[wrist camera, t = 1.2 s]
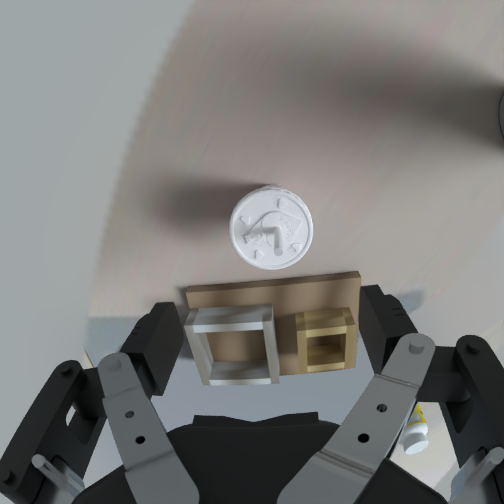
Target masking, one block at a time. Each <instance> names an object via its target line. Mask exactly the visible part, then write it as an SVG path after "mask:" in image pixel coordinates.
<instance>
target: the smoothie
mask: <svg viewBox="0 0 504 504" xmlns="http://www.w3.org/2000/svg"><path fill="white" fill-rule="evenodd" d="M229 236H230V240H231V243H232V245H233V248H234V249H235V251H236V252H237V254H238V255H239V256H240V257H241V258H242V259H243V260H244V261H246V262H247V263H249V264H251V265H253V266H255V267H258V268H261V269H267V270H276V269H282V268H285V267H288V266H290V265H292V264H294V263H295V262H297V261H298V260H299V259H301V258H302V257H303V255H304V254H305V253H306V252H307V250H308V248H309V246H310V244H311V241H312V237H313V223H312V218H311V214H310V212H309V210H308V208H307V206H306V205H305V204H304V202H303V201H302V200H301V199H300V198H299V197H298V196H296V195H295V194H293V193H292V192H290V191H288V190H285V189H284V188H282V187H281V186H279V185H274V184H270V185H266V186H264V187H262V188H260V189H256V190H254V191H252V192H250V193H248V194H246V195H245V196H244V197H243V198H242V199H241V200H240V201H239V202H238V203H237V205H236V206H235V208H234V209H233V212H232V215H231V218H230V224H229Z"/></svg>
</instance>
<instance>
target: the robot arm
mask: <svg viewBox="0 0 504 504" xmlns="http://www.w3.org/2000/svg"><path fill="white" fill-rule="evenodd" d="M499 119H500V126H501V130H502V134H503V136H504V95H503V97H502V99H501V103H500V109H499ZM358 324H359V330H360V333H361V336H362V339H363V341H364V344H365V347H366V350H367V353H368V356H369V359H370V362H371V365H372V368H373V371H374V374H375V375H374V376H373V378H372V380H371V381H370V383H369V384H368V386H367V387H366V389H365V390H364V392H363V393H362V395H361V396H360V398H359V399H358V401H357V402H356V404H355V405H354V407H353V409H352V410H351V411H350V413H349V414H348V415H347V417H346V418H345V420H344V421H343V423H342V424H341V425H338V424H335V423H332V422H328V421H321V420H319V419H318V412H309V413H297V414H286V415H282V416H278V417H274V418H270V419H266V420H262V421H257V422H250V421H245V420H240V419H234V418H230V417H226V416H202V415H194V419H193V423H192V424H188V425H184V426H181V427H178V428H176V429H173V430H171V431H169V432H168V433H167V431H166V429H165V427H164V425H163V423H162V422H161V420H160V418H159V416H158V414H157V412H156V410H155V408H154V406H153V404H152V402H151V400H150V399H151V397H152V395H156V396H162V395H163V393H164V391H165V388H166V385H167V383H168V380H169V377H170V375H171V372H172V370H173V367H174V365H175V362H176V360H177V357H178V354H179V352H180V349H181V347H182V344H183V330H182V326H181V323H180V320H179V317H178V313H177V310H176V307H175V304H174V303H173V302H159V303H156V304H155V305H154V307H153V308H152V310H151V312H150V313H149V314H146V315H144V316H143V317H142V318H141V319H140V320H138V322H137V324H136V325H135V327H134V329H133V330H132V332H131V333H130V334H131V335H129V336H128V338H127V340H126V341H125V343H124V344H123V346H122V348H121V349H120V351H119V352H117V353H112V354H109V355H107V356H106V357H104V358H103V359H102V360H101V361H100V362H99V364H98V367H96V368H90V369H83V368H82V366H81V365H80V363H79V362H78V361H76V360H69V361H65V362H63V363H61V364H60V365H58V366H57V367H56V369H55V370H54V371H53V373H52V374H51V376H50V377H49V379H48V380H47V382H46V383H45V385H44V387H43V388H42V389H41V391H40V393H39V394H38V396H37V397H36V399H35V400H34V402H33V404H32V406H31V407H30V409H29V410H28V412H27V414H26V415H25V417H24V419H23V420H22V422H21V424H20V426H19V427H18V429H17V431H16V432H15V434H14V436H13V438H12V440H11V441H10V443H9V445H8V447H7V449H6V451H5V452H4V454H3V456H2V458H1V460H0V492H1V493H2V494H3V495H4V496H6V497H7V498H8V499H10V500H11V501H12V502H13V503H14V504H504V368H503V366H502V365H501V363H500V361H499V360H498V359H497V357H496V355H495V354H494V352H493V350H492V349H491V347H490V346H489V344H488V343H487V342H486V341H485V340H484V339H483V338H481V337H479V336H475V335H465V336H463V337H461V338H460V339H458V341H457V343H456V346H455V347H442V346H435V343H434V341H433V340H432V339H431V338H430V337H428V336H426V335H424V334H419V333H418V331H417V329H416V328H415V326H414V324H413V323H412V321H411V320H410V318H409V316H408V315H407V313H406V311H405V309H403V306H402V305H401V303H400V301H399V300H398V299H396V298H395V297H394V296H392V295H391V294H389V295H384V294H383V292H382V291H381V289H380V287H379V285H377V284H376V285H368V286H361V287H360V292H359V312H358ZM418 402H438V403H439V405H440V408H441V411H442V414H443V417H444V420H445V422H446V425H447V428H448V431H449V435H450V438H451V441H452V444H453V447H454V450H455V454H456V457H457V461H458V464H459V468H460V470H459V471H458V472H457V474H456V475H455V476H454V478H453V480H452V483H451V497H450V501H449V502H447V501H446V500H445V498H444V497H443V496H442V495H440V494H439V493H438V492H436V491H435V490H433V489H432V488H430V487H429V486H427V485H426V484H424V483H423V482H421V481H420V480H418V479H417V478H415V477H414V476H412V475H411V474H410V473H408V472H407V471H405V470H404V469H402V468H401V467H399V466H398V465H397V464H395V463H394V462H392V461H391V460H390V459H391V457H392V455H393V453H394V451H395V449H396V447H397V445H398V443H399V441H400V439H401V437H402V435H403V433H404V431H405V429H406V427H407V425H408V423H409V421H410V419H411V417H412V415H413V412H414V410H415V408H416V406H417V403H418ZM71 406H73V408H74V409H75V410H76V411H75V413H74V415H73V417H72V419H71V421H70V423H69V425H68V426H67V424H66V415H67V413H68V411H69V409H70V408H71ZM107 418H108V421H109V425H110V428H111V431H112V434H113V437H114V440H115V443H116V445H117V448H118V451H119V454H120V456H121V459H122V461H123V465H121V466H120V467H118V468H117V469H116V470H114V471H112V472H111V473H109V474H108V475H106V476H105V477H103V478H102V479H100V480H99V481H97V482H95V483H94V484H92V485H91V486H89V487H88V488H86V489H85V485H84V482H83V478H84V475H85V472H86V469H87V467H88V464H89V462H90V459H91V456H92V454H93V451H94V448H95V446H96V444H97V441H98V439H99V436H100V433H101V431H102V429H103V426H104V424H105V421H106V419H107Z"/></svg>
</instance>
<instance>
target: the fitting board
mask: <svg viewBox="0 0 504 504" xmlns="http://www.w3.org/2000/svg"><path fill="white" fill-rule="evenodd" d="M360 287H361V276H360V274H359V272H358V271H356V272H347V273H337V274H328V275H318V276H308V277H298V278H287V279H276V280H265V281H254V282H242V283H229V284H217V285H203V286H189V287H188V289H187V291H186V297H187V301H188V304H189V308H190V313H189V315H188V317H187V319H186V322H185V324H184V328H185V331H186V335H187V338H188V341H189V344H190V347H191V350H192V353H193V356H194V360H195V363H196V366H197V368H198V371H199V374H200V377H201V380H202V383H203V385H254V384H274V383H279V376H280V375H295V374H306V373H316V372H326V371H333V370H342V369H350V368H355V363H356V354H357V343H358V330H359V324H358V312H359V292H360Z"/></svg>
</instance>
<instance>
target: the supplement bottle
mask: <svg viewBox="0 0 504 504" xmlns="http://www.w3.org/2000/svg"><path fill="white" fill-rule="evenodd" d="M427 431H428V427H427V424H426V421H425V419H424V417H423V414H422V411H421V409H420V407H419V404H418V403H417V406H416V408H415V410H414V412H413V415H412V417H411V419H410V421H409V423H408V425H407V427H406V429H405V431H404V433H403V435H402V437H401V439H400V441H399V444H401V445H403V447H404V451H405V453H406V454H408V455H411V454H415V453H418V452H420V451H422V450H423V449H425V448H426V447H427V446H428V443H429V442H428V439H427V437H426V433H427Z"/></svg>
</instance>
